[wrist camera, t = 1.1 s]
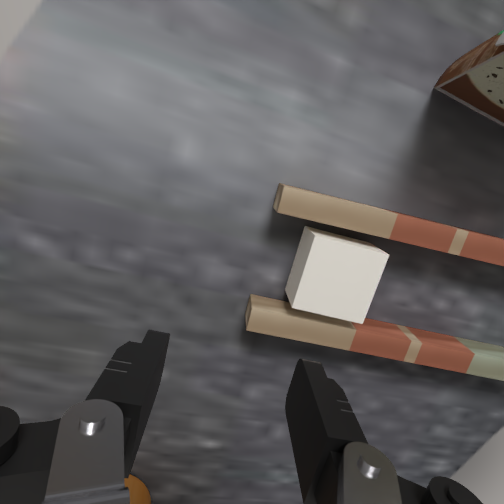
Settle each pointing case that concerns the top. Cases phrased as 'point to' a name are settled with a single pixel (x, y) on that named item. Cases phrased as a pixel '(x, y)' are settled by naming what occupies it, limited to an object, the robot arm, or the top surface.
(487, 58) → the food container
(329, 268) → the ivory block
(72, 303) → the top surface
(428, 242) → the channel
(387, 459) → the robot arm
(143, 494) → the flower pot
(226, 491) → the top surface
